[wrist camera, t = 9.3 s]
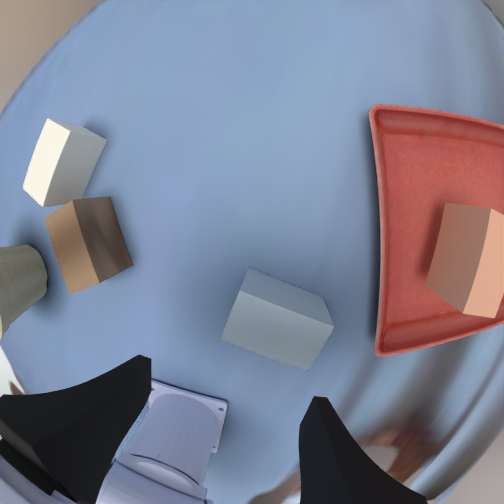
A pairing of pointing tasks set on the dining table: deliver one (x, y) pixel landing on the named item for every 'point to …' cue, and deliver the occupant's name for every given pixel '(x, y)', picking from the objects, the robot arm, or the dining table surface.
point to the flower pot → (19, 282)
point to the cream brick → (62, 163)
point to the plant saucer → (427, 215)
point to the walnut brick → (87, 242)
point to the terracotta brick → (469, 260)
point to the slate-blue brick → (278, 320)
